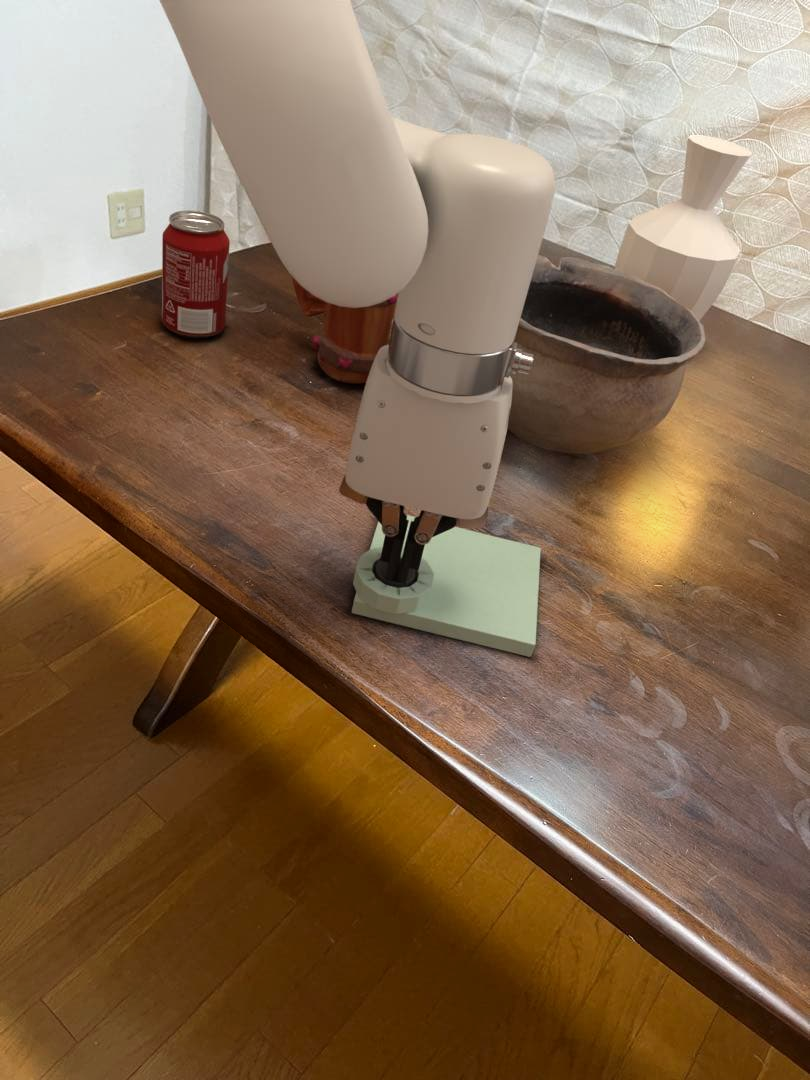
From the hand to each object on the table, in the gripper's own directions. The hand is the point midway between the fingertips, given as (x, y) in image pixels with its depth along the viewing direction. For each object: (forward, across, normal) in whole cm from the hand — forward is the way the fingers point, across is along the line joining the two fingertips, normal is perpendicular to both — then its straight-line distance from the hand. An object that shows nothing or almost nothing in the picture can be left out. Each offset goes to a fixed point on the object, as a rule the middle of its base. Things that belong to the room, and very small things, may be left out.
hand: (398, 569), depth 65 cm
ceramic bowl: (+4, -12, -32) cm, 35 cm away
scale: (+3, -4, -3) cm, 6 cm away
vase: (+4, -24, -62) cm, 67 cm away
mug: (+3, +13, -35) cm, 38 cm away
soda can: (+3, +29, -35) cm, 46 cm away
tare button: (+2, 0, 0) cm, 2 cm away
